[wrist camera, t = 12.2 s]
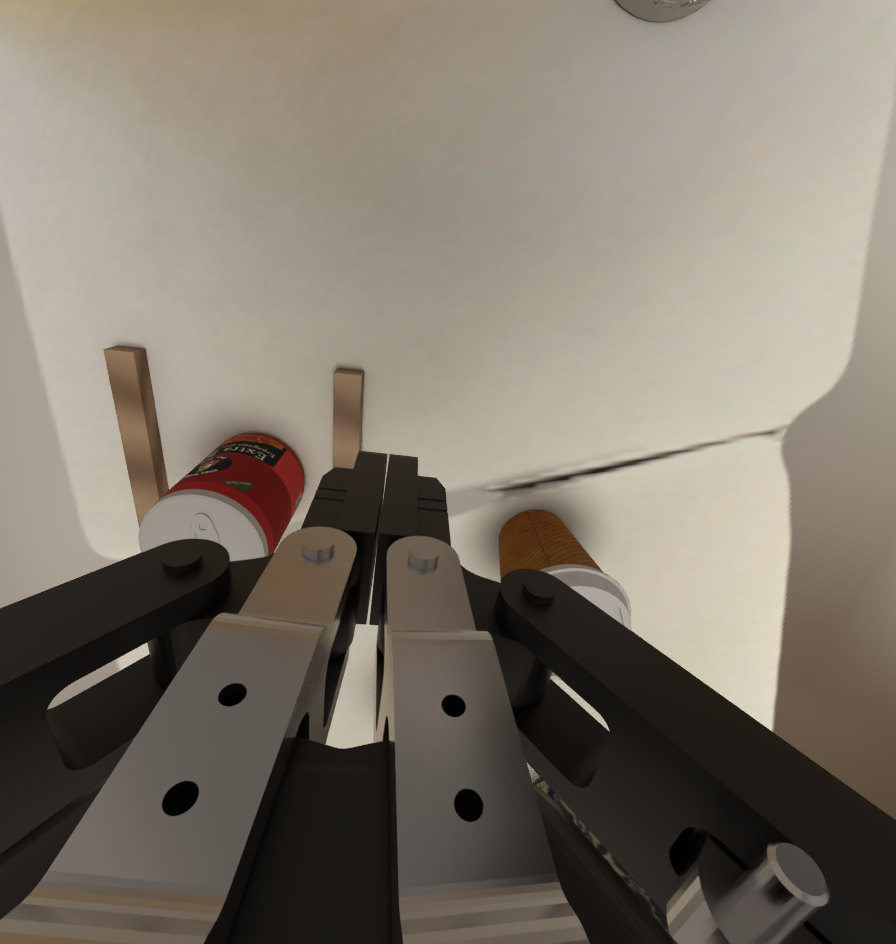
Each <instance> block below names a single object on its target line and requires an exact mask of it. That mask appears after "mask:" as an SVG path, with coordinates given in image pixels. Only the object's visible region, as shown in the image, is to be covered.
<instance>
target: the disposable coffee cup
mask: <svg viewBox="0 0 896 944" xmlns="http://www.w3.org/2000/svg"><path fill="white" fill-rule="evenodd" d="M499 550H500V573H501V580H502V578H503V577H504V576H505V575H506V574H507V573H509V572H510V571H513V570H517V569H535V570H539V571H543V572H546V573H548V574H551V575H553V576H555V577H556V578H558V579H559V580H561V581H562V582H564V583H565V584H566V585H568V586H569V587H571V588H572V589H573V590H575V591H576V592H578V593H579V594H580V595H582V596H583V597H585V598H586V599H587V600H589V601H590V602H592V603H593V604H594V605H596V606H597V607H599V608H600V609H601V610H603V611H604V612H606V613H607V614H608V615H610V616H611V617H613V618H614V619H615V620H617V621H618V622H620V623H621V624H622V625H624V626H625V627H627V628H628V629H629V630H631V606H630V601H629V599H628V596H627V594H626V592H625V591H624V589H623V588H622V587H621V585H620V584H619V583H618V582H617V581H615V580H614V579H613V578H611V577H610V576H608V575H607V574H605V573H603V571H602V570H601V569H600V568H599V567H598V565H597V564H596V563H595V562H594V560H593V559H592V558H591V557H590V556H589V554H588V553H587V552H586V551H585V550H584V548H583V547H582V546H581V545H580V543H579V542H578V541H577V540H576V539H575V537H574V536H573V535H572V534H571V532H570V531H569V530H568V529H567V528H566V526H565V525H564V524H563V522H562V521H561V520H560V519H559V518H558V517H557V516H556V515H554V514H552V513H550V512H547V511H543V510H529V511H526V512H522V513H520V514H518V515H516V516H514V517H513V518H511V519H510V520H509V521H508V522H507V523H506V524H505V526H504V527H503V528H502V531H501V533H500V537H499ZM550 679H551V680H561V679H560V678H559V677H558V676H557V675H556V674H555V673H552V676H551V678H550Z"/></svg>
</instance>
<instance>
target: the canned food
mask: <svg viewBox="0 0 896 944" xmlns="http://www.w3.org/2000/svg"><path fill="white" fill-rule="evenodd" d="M303 492H304V477H303V471H302V468H301V465H300V463H299V461H298V459H297V457H296V456H295V455H294V453H293V452H292V451H291V450H290V449H289V448H288V447H287V446H285V445H284V444H283V443H281V442H280V441H278V440H276V439H274V438H271V437H269V436H266V435H260V434H246V435H241V436H236V437H233V438H231V439H229V440H227V441H225V442H224V443H223V444H221V445H220V446H219V447H218V448H217V449H216V450H214V451H213V452H212V453H211V454H210V455H209V456H208V457H206V458H205V459H204V460H203V461H202V462H201V463H200V464H198V465H197V466H196V467H195V468H194V469H193V470H192V471H190V472H189V473H188V474H187V475H186V476H185V477H184V478H182V479H181V480H180V481H179V482H178V483H177V484H176V485H174V486H173V487H172V488H171V489H170V490H169V491H167V492H166V493H165V494H164V495H163V496H162V497H161V498H160V499H159V500H158V501H157V502H156V503H155V504H154V505H153V506H152V507H151V509H150V510H149V511H148V512H147V514H146V515H145V516H144V518H143V521H142V523H141V525H140V531H139V544H140V549H141V552H145V551H147V550H150V549H152V548H155V547H157V546H160V545H162V544H165V543H168V542H172V541H176V540H182V539H207V540H211V541H214V542H217V543H219V544H221V545H222V546H224V547H225V548H226V549H227V551H228V553H229V556H230V561H238V560H247V559H255V558H261V557H265V556H269V555H272V554H273V553H274V551H275V549H276V547H277V545H278V543H279V541H280V539H281V537H282V535H283V533H284V532H285V529H286V528H287V526H288V524H289V522H290V520H291V518H292V516H293V514H294V512H295V510H296V508H297V506H298V504H299V503H300V501H301V498H302V495H303Z"/></svg>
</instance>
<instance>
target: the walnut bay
mask: <svg viewBox="0 0 896 944" xmlns="http://www.w3.org/2000/svg"><path fill="white" fill-rule="evenodd" d="M103 350H104V355H105V360H106V364H107V369H108V374H109V379H110V384H111V389H112V394H113V399H114V404H115V409H116V414H117V419H118V424H119V429H120V434H121V439H122V444H123V449H124V454H125V459H126V464H127V469H128V474H129V479H130V483H131V488H132V493H133V498H134V503H135V508H136V513H137V518H138V523H139V528H140V525H141V523H142V521H143V518H144V516H145V515H146V514H147V512H148V511H149V510H150V509H151V507H152V506H153V505H154V504H155V503H156V502H157V501H158V500H159V499H160V498H161V497H162V496H163V495H164V494H165V493H166V492H167V491H168V484H167V478H166V472H165V466H164V460H163V454H162V448H161V442H160V436H159V429H158V423H157V417H156V411H155V405H154V399H153V393H152V387H151V381H150V375H149V368H148V362H147V356H146V350H145V349H142V348H133V347H123V346H114V347H111V348H107V349H103ZM363 381H364V371H358V370H349V369H339V368H337V370H336V371H335V372H334V418H333V468H335V467H340V468H349V469H353V468H354V465H355V462H356V458H357V455H358V452H359V451H361V439H362V410H363ZM273 554H274V553H273Z"/></svg>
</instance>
